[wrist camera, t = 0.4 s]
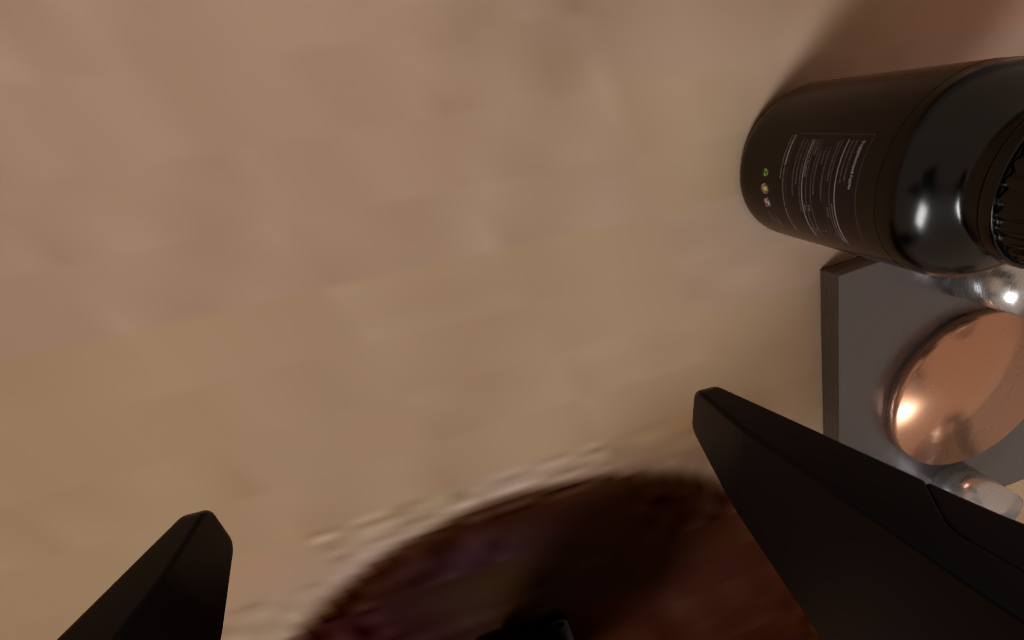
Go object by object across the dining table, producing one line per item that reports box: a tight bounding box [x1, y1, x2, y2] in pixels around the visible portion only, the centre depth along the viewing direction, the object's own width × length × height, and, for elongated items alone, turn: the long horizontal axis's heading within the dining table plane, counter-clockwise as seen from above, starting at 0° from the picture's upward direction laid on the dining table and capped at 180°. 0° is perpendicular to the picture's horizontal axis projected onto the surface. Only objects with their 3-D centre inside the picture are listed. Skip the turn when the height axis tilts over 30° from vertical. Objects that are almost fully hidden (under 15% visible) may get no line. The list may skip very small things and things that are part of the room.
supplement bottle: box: [740, 56, 1024, 277], centre depth 17 cm, size 7×7×12 cm
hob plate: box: [821, 256, 1024, 520], centre depth 28 cm, size 20×16×4 cm
